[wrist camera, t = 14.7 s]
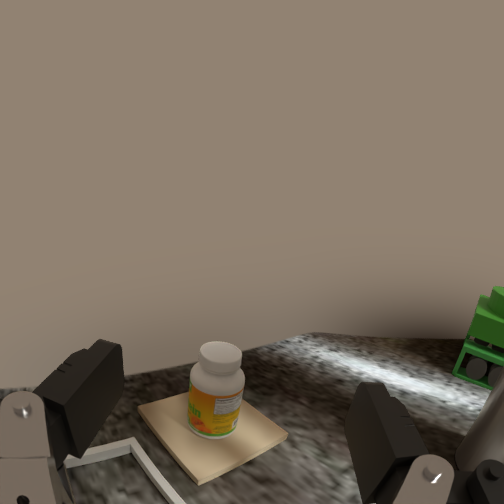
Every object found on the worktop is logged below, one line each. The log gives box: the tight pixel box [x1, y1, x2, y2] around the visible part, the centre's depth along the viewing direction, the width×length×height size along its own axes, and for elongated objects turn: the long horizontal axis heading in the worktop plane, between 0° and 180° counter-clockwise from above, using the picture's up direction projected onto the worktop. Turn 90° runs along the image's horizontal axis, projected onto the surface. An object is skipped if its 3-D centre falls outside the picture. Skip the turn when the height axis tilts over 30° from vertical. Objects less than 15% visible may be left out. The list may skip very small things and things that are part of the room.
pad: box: [138, 392, 288, 486], centre depth 30 cm, size 12×12×1 cm
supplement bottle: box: [187, 341, 245, 439], centre depth 29 cm, size 5×5×10 cm
